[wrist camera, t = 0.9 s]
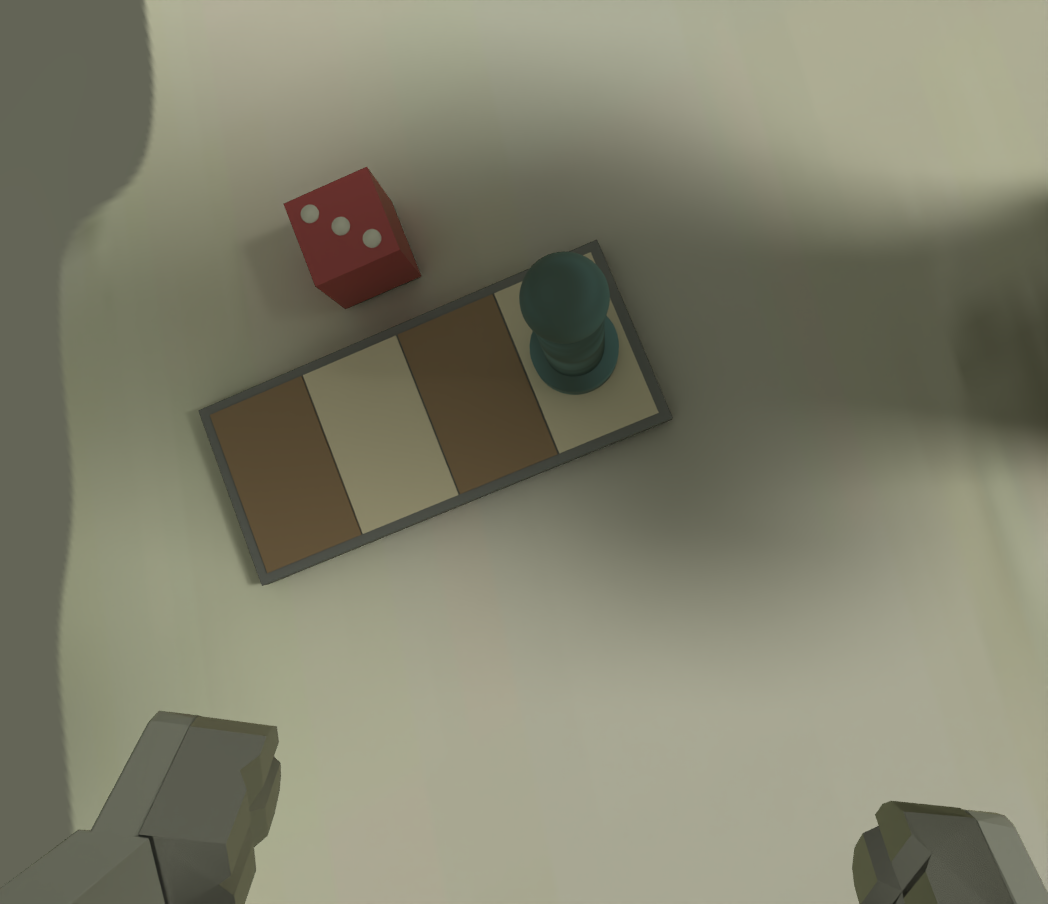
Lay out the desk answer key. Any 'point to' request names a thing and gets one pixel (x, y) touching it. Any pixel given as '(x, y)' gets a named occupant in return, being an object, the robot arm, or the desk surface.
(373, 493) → the board
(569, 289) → the pawn
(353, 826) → the desk surface
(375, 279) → the die
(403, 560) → the desk surface
